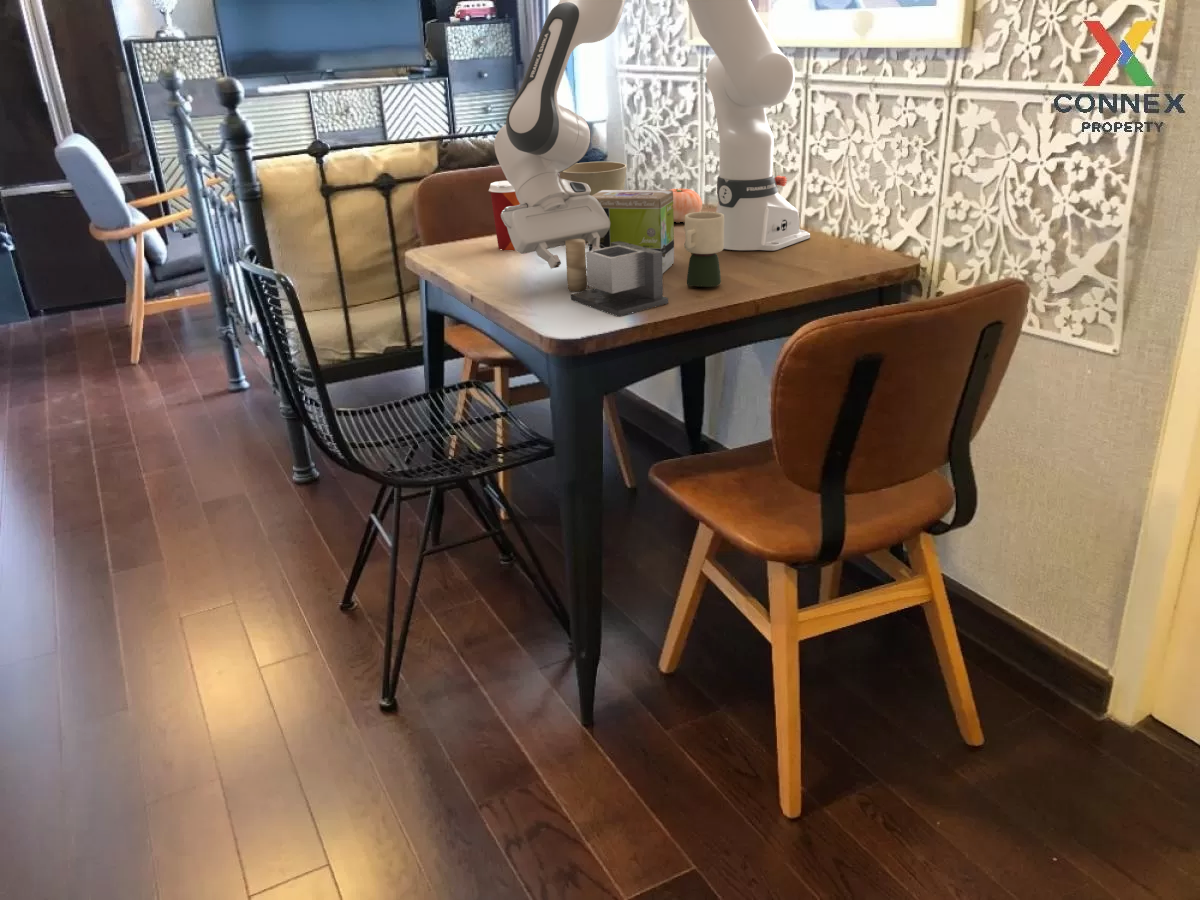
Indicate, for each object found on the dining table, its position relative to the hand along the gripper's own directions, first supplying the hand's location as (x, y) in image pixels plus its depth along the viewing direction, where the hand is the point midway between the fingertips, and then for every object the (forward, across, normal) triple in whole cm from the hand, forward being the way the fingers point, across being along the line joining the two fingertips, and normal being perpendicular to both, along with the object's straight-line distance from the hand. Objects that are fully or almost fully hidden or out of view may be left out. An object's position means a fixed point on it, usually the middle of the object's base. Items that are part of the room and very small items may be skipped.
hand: (577, 261), depth 171 cm
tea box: (0, +17, +8) cm, 19 cm away
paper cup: (-23, +9, +31) cm, 40 cm away
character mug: (+14, +18, -6) cm, 24 cm away
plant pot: (-18, +27, +26) cm, 42 cm away
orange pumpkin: (-19, +53, +27) cm, 62 cm away
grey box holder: (+12, 0, -4) cm, 13 cm away
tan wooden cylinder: (+3, 0, +4) cm, 5 cm away
